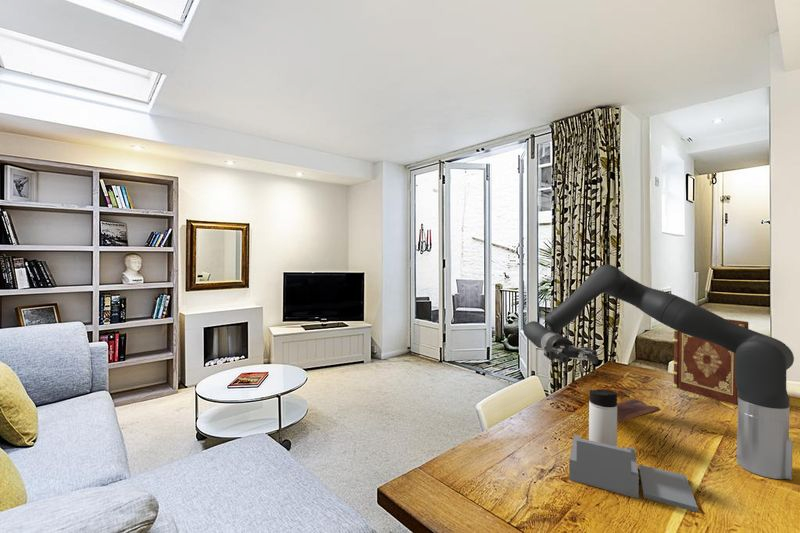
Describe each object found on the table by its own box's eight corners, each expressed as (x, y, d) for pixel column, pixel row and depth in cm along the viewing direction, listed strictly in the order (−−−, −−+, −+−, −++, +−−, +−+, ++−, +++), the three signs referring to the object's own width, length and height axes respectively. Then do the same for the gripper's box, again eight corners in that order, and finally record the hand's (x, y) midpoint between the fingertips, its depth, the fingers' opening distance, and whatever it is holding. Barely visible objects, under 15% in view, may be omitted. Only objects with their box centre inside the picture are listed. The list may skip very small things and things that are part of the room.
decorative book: (668, 385, 152) (669, 314, 151) (680, 383, 155) (681, 313, 154) (736, 405, 131) (738, 323, 131) (747, 401, 135) (749, 321, 134)
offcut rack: (634, 467, 93) (634, 428, 93) (638, 498, 81) (639, 454, 80) (573, 452, 100) (574, 416, 99) (569, 479, 88) (569, 438, 87)
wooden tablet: (612, 421, 117) (585, 406, 126) (612, 427, 117) (585, 412, 126) (662, 407, 128) (634, 394, 137) (661, 413, 128) (633, 400, 137)
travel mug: (603, 476, 89) (604, 395, 88) (583, 462, 95) (583, 386, 95) (623, 472, 90) (624, 393, 90) (602, 458, 97) (603, 384, 96)
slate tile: (685, 479, 88) (685, 475, 88) (697, 512, 76) (697, 507, 76) (638, 468, 92) (639, 464, 92) (643, 497, 81) (643, 493, 81)
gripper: (535, 334, 119) (557, 347, 103) (578, 334, 119) (606, 347, 103) (535, 357, 120) (556, 373, 103) (577, 357, 120) (606, 373, 103)
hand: (581, 360), depth 103 cm, fingers open, 8 cm apart
